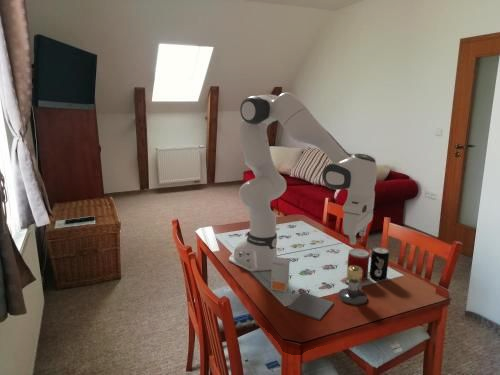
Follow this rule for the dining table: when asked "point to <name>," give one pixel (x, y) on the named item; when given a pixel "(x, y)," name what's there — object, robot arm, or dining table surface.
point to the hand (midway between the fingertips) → (357, 239)
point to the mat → (311, 305)
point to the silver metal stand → (353, 294)
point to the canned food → (359, 260)
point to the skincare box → (280, 274)
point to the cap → (354, 274)
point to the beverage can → (379, 263)
